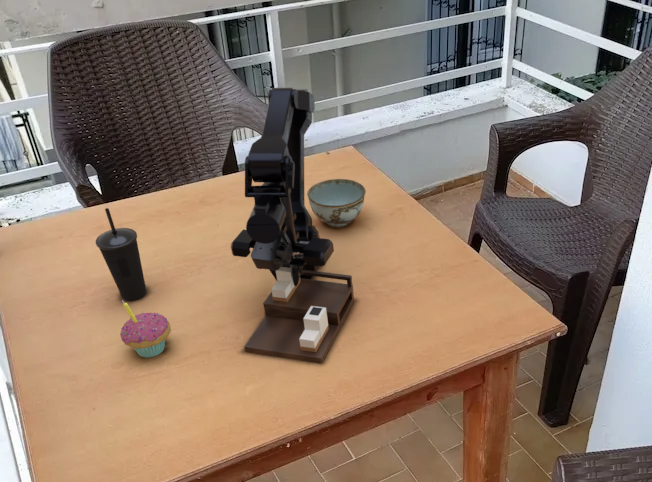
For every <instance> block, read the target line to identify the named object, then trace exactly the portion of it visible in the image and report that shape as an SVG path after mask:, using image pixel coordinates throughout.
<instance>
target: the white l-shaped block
mask: <svg viewBox="0 0 652 482" xmlns="http://www.w3.org/2000/svg"><path fill="white" fill-rule="evenodd" d="M290 261H291V260H290ZM276 276H277V281H276V282H275V283H274V285H273V286H272V287H271V289H270V290H271V291H272V295H273V296H272V298H273V300H274V301H281V302H288V300H289V299H290V297H291V296H292V294H293V293H294V291H295V290H296V288H297V287H298V285H299V284H300V282H301V281H300V278H299V282H298V284H297V286H294V283H293V277H292V267H291V266H290V265H289V264H283V265H282V266H281V267H280V268H279V269H278V270H276Z"/></svg>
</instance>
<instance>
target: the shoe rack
mask: <svg viewBox="0 0 652 482" xmlns="http://www.w3.org/2000/svg"><path fill="white" fill-rule="evenodd" d="M301 275H307V276H313V277H316V278H324V279H331V280H332V279H333V280H340V281H346V283H344V282H343V283H342V282H334V281H327V280H326V281H325V280H320V279H319V280H317V279H303V278H300V281H301V282H300V284H299V285H298V287H297V288H296V290H295V291H294V293H293V294H292V296H291V297H290V299H289V300H288V302H281V301H274V300H273V298H272V296H273V295H272V290H271V291H270V293H269V294H268V295H267V297H266V298H265V300H264V301H263V304H262V305H263V310H264V317H263V318H262V320H261V321H260V323H259V324H258V326H257V327H256V329H255V330H254V332H253V333H252V335H250V338H249V339H248V341H246V344H245V345H244V352H246V353H251V354H252V353H253V354H258V355H265V356H272V357H278V358H285V359H292V360H297V361H298V360H300V361H304V362H305V361H306V362H312V363H320V364H322V363H323V362H324V360H325V359H326V357H327V354H328V352H329V351H330V348H331V347H332V346H333V342H334V341H335V339H336V337H337V335H338V334H339V331H340V329H341V328H342V325H343V323H344V322H345V320H346V319H347V316H348V314H349V313H350V310H351V309H352V306H354V305H353V304H354V303H355V296H354V286H353V277H352V276H353V275H351V274H341V273H335V272H334V273H333V272H325V271H318V270H317V271H310V270H302V272H301ZM311 306H316V307H324V308H326V311H327V319H328V327H329V329H328V331H327V333H326V335H325V336H324V338H323V340H322V342H321V344H320V346H319V347H318V349H317V351H316V352H310V351H304V350H300V341H299V338H300V337H301V335H302V333H303V332H304V330H305V327H304V320H303V318H304V317H305V315H306V313H307V312H308V310H309V308H310V307H311Z"/></svg>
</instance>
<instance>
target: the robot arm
mask: <svg viewBox="0 0 652 482" xmlns="http://www.w3.org/2000/svg"><path fill="white" fill-rule="evenodd" d="M267 103H268V104H267V105H268V106H267V111H266V115H265V119H264V124H263V129H262V133H261V136H260V137H259V138H258V139H257V140H256V141H254V142H252V144H251V146H250V149H249V152H248V155H247V156H245V159H244V197H245V198H253V199H254V204H253V208H252V210H251V212H250V215H249V217H248V219H247V221H246V225H245V229H242V230H241V231H240V232H239V233H238V234H237V235H236V237H235V238H234V239H233V241H231V244H230V249H231V254H232V256H233V257H239V258H240V257H241V258H247V257H248V256H250V258H251V260H252V262H253V264H254V266H255V268H256V269H258V270H262V269H263V270H269V272H270V273H271V275H272V276H273V279H275V281H276V282H277V276H276V270H278V269H279V268H280V267H281V266H282V265H283V264H289V265H290V266H291V267H292V277H293V283H294V286H297V284H298V282H299V278H303V279H311V280H313V277H314V276H307V275H301V272H302V270H310V271H318V270H319V269H320V267H323V266H326V264H327V263H328V261H329V259H330V258H331V256H332V255H333V253H334V252H335V247H334V243H333V241H332V240H331V239H330V238H323V237H320V234H319V230H318V229H317V228H316V226H315V225H313V218H312V216H311V214H310V212H309V211H308V209H307V208H306V206H305V134H306V133H307V132H308V129H309V128H310V126H311V125H312V123H313V114H314V113H315V111H316V110H315V109H316V103H315V97H314V95H313V94H312V93H311V92H310V91H308V89H307V88H299V89H298V88H294V87H273V88H269V90H268V92H267ZM253 182H254V183H262V184H261V185H253ZM251 249H252V250H251ZM290 260H291V261H290Z"/></svg>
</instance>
